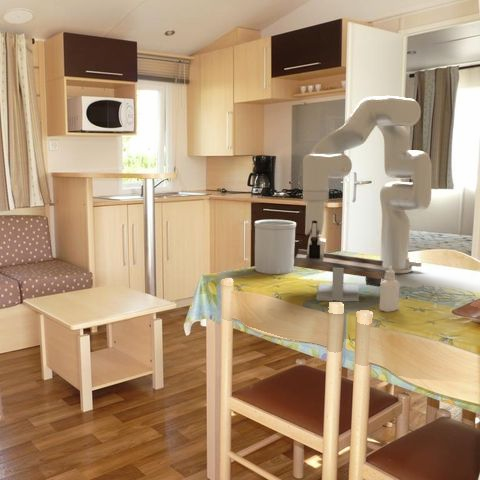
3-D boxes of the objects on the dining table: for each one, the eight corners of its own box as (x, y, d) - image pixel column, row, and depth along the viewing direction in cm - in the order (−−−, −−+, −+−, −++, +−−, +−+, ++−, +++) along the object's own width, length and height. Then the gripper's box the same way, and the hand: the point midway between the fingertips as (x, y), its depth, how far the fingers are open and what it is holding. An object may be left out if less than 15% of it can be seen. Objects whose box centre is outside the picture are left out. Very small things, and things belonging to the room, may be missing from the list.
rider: (323, 258, 178) (326, 238, 177) (322, 261, 173) (325, 241, 172) (307, 255, 179) (309, 236, 178) (306, 259, 174) (308, 239, 173)
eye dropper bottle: (376, 307, 161) (377, 265, 159) (396, 307, 161) (397, 264, 159) (381, 312, 157) (383, 268, 155) (401, 311, 157) (403, 268, 155)
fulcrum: (357, 287, 183) (358, 258, 182) (358, 302, 167) (359, 269, 165) (319, 286, 185) (320, 256, 184) (316, 300, 169) (317, 267, 167)
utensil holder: (299, 267, 214) (300, 220, 211) (289, 276, 200) (290, 225, 197) (261, 265, 219) (261, 218, 216) (248, 273, 205) (248, 223, 202)
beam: (379, 278, 180) (382, 260, 179) (382, 289, 166) (385, 270, 165) (296, 266, 184) (298, 249, 183) (292, 276, 171) (294, 257, 170)
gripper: (305, 193, 182) (304, 250, 185) (300, 199, 165) (300, 261, 168) (329, 193, 180) (328, 251, 184) (327, 199, 164) (326, 262, 167)
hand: (315, 255), depth 176 cm, fingers closed on rider, 5 cm apart
